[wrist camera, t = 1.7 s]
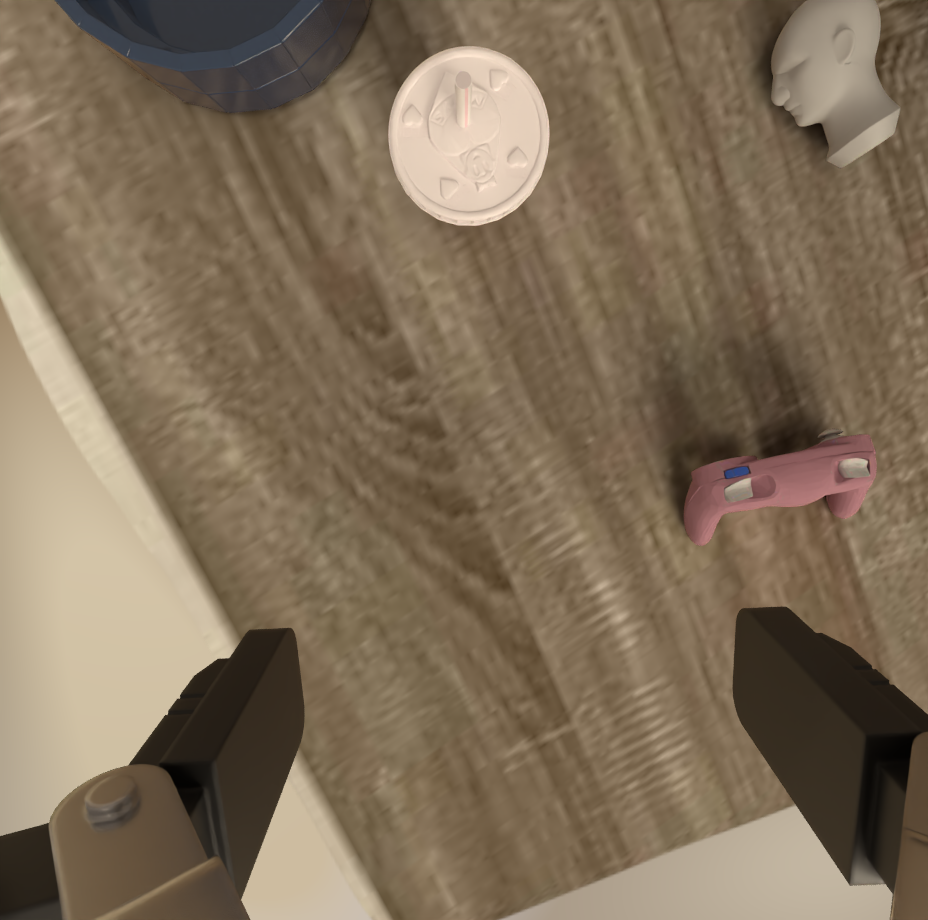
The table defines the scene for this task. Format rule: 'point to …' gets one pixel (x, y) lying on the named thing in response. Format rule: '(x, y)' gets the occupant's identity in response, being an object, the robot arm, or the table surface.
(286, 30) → the bowl
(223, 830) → the robot arm
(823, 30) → the white head bust
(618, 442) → the table surface
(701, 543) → the video game controller
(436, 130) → the smoothie
